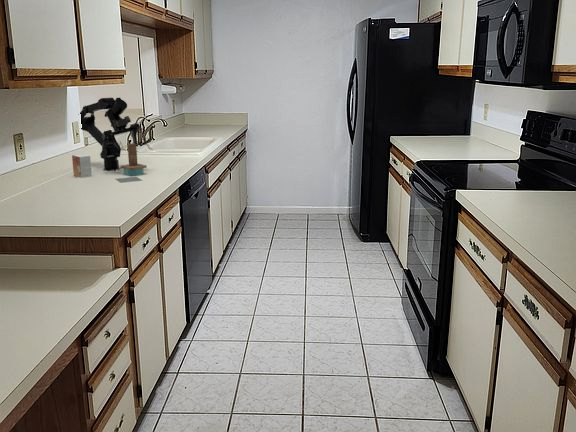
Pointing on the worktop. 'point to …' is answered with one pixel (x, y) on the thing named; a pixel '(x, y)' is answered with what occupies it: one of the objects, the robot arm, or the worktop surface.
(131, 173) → the bowl
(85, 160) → the small box
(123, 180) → the mat
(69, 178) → the worktop surface
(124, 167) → the brown upright piece
